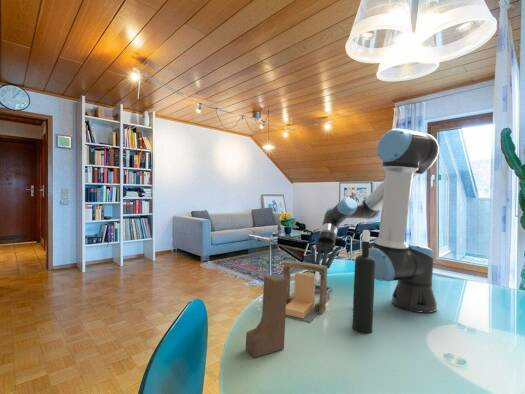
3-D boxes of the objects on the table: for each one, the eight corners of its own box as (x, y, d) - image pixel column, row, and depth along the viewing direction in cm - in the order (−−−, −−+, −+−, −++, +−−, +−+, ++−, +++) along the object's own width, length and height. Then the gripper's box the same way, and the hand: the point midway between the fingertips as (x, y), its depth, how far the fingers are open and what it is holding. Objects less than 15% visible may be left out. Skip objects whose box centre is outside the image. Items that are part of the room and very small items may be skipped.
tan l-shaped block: (295, 302, 104) (297, 272, 104) (314, 306, 101) (315, 275, 101) (282, 313, 94) (284, 280, 94) (303, 318, 90) (304, 284, 91)
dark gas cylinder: (348, 326, 87) (352, 229, 88) (362, 324, 90) (366, 229, 90) (361, 335, 82) (365, 231, 82) (376, 332, 84) (380, 231, 85)
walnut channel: (297, 292, 117) (299, 255, 117) (333, 300, 110) (335, 260, 111) (282, 304, 103) (284, 262, 103) (322, 314, 96) (324, 268, 96)
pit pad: (313, 287, 126) (313, 284, 126) (331, 290, 123) (331, 287, 123) (308, 291, 119) (308, 289, 119) (327, 295, 116) (327, 292, 116)
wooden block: (253, 358, 67) (257, 282, 68) (244, 349, 71) (248, 277, 71) (284, 349, 72) (287, 278, 72) (274, 341, 76) (277, 274, 76)
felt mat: (287, 304, 104) (287, 303, 104) (319, 311, 99) (320, 310, 99) (275, 314, 94) (275, 313, 94) (310, 322, 89) (310, 321, 89)
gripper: (343, 242, 130) (333, 288, 115) (315, 239, 136) (302, 283, 120) (341, 231, 125) (330, 278, 110) (312, 229, 131) (298, 273, 116)
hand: (316, 280), depth 115 cm, fingers closed
